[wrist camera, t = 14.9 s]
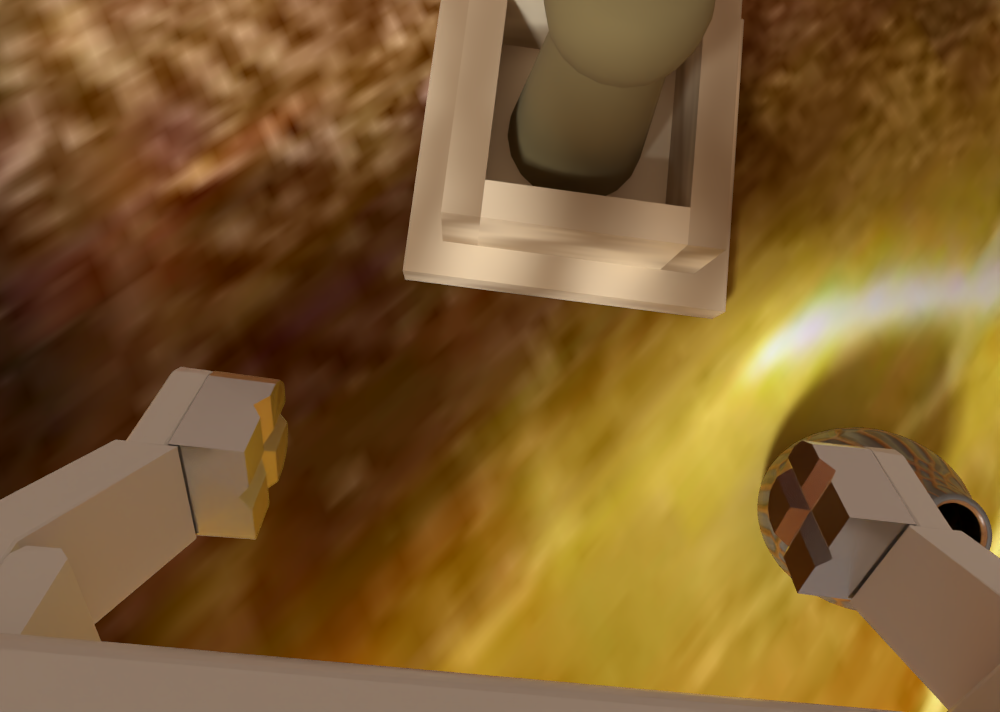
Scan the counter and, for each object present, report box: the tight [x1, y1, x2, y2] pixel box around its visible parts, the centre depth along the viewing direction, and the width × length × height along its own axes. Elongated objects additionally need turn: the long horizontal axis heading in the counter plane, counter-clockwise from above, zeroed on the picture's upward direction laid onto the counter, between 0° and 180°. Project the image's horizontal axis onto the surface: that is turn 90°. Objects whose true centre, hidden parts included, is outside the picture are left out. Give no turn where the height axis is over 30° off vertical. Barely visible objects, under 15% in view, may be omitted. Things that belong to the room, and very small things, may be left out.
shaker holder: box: [403, 0, 744, 319], centre depth 29 cm, size 14×14×5 cm
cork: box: [507, 0, 715, 196], centre depth 24 cm, size 6×6×11 cm
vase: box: [758, 428, 992, 611], centre depth 25 cm, size 7×7×9 cm
